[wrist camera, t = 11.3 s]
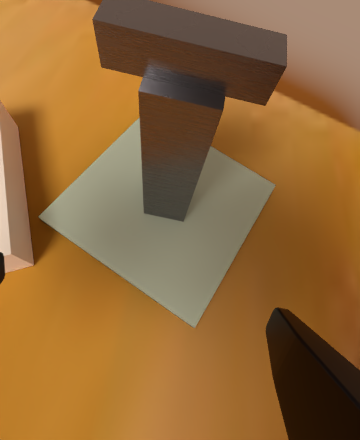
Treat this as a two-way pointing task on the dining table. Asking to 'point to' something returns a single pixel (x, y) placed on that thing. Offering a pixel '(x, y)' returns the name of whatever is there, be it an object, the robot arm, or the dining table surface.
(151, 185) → the t key
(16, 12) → the dining table surface
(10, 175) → the socket block
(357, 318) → the dining table surface
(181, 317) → the pad
